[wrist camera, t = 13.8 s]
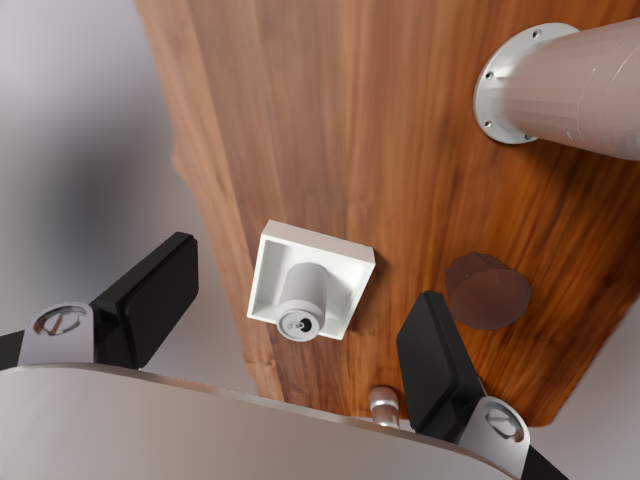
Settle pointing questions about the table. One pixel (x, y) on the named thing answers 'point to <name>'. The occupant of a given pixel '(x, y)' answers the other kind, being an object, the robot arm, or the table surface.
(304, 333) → the can
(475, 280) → the muffin
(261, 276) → the tote
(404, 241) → the table surface
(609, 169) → the table surface
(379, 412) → the plastic bottle
